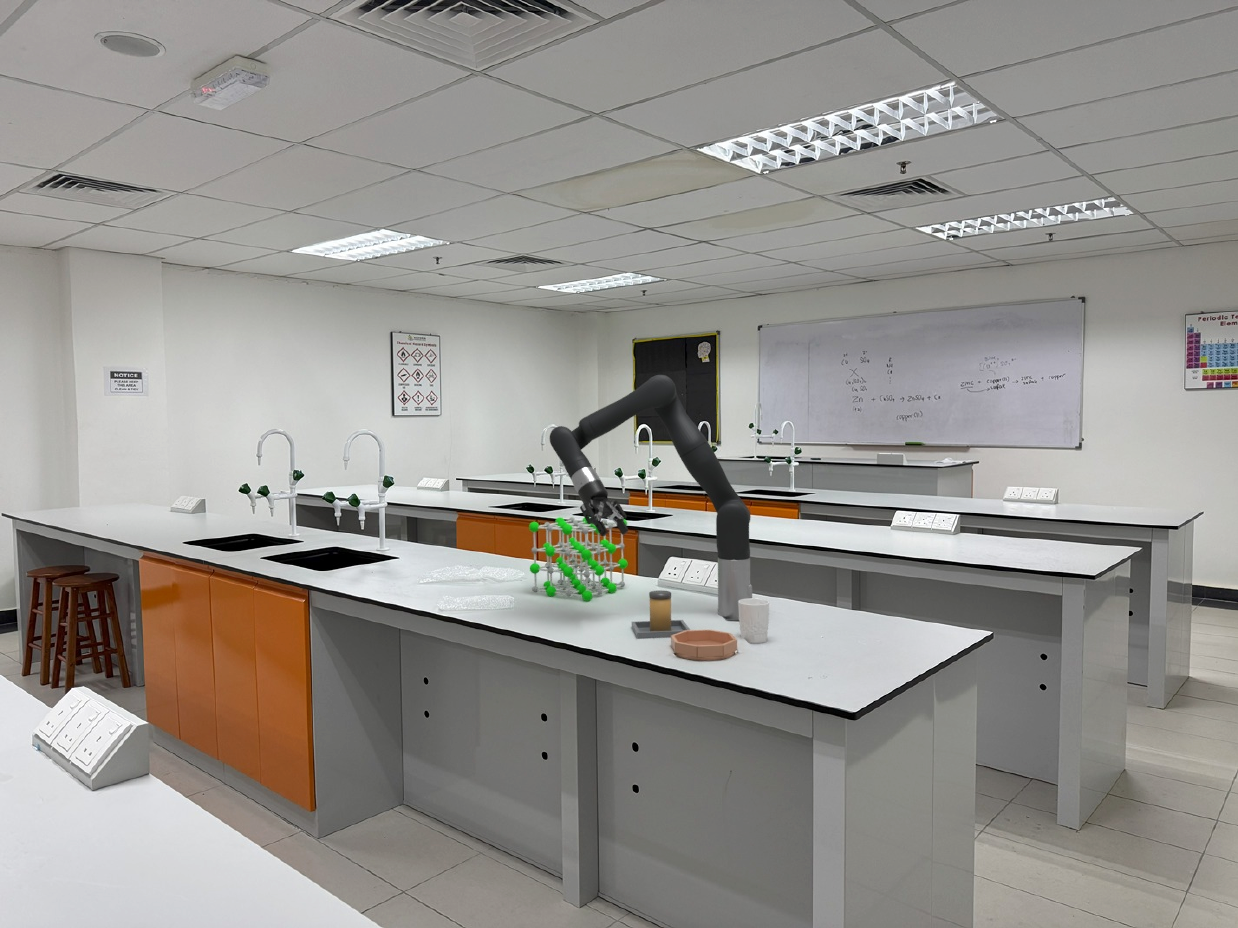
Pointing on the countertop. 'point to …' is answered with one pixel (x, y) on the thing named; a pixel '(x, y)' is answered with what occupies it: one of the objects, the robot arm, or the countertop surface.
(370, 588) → the countertop surface
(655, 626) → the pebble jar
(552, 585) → the molecular structure model
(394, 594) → the countertop surface
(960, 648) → the countertop surface
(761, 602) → the white cup
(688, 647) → the terracotta bowl
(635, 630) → the parts tray
